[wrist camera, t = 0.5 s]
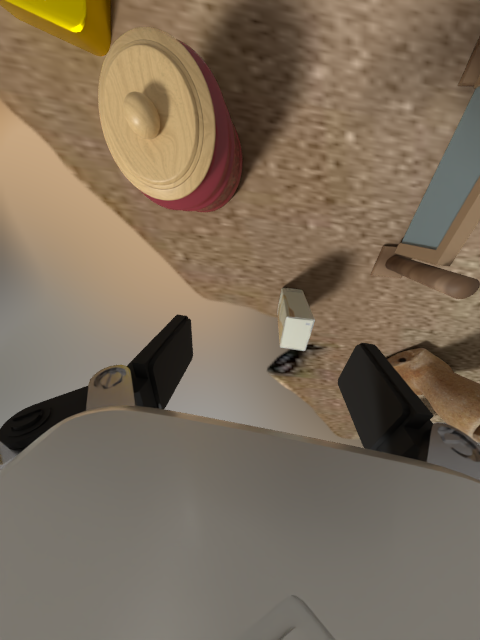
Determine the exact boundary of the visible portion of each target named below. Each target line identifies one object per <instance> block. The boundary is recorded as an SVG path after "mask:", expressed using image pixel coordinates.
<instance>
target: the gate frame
mask: <svg viewBox="0 0 480 640" xmlns="http://www.w3.org/2000/svg"><path fill="white" fill-rule="evenodd" d="M479 75H480V37H479V39H478V42H477V44H476V46H475V48H474V50H473V53H472V55H471V57H470V59H469V62H468V64H467V66H466V68H465V71H464V73H463V75H462V77H461V80H460V82H459V84H458V86H475V83H476V81H477V79H478V77H479ZM396 249H397V247H392V246H383V247H382V249H381V252H380V254H379V256H378V258H377V261H376V263H375V265H374V268H373V270H372V272H371V275H374V276H384V277H394V278H402V276H405V277H407V278H410V279H412V280H414V281H417V282H419V283H421V284H423V285H426V286H428V287H430V288H433V289H435V290H437V291H440V292H442V293H444V294H446V295H449V296H451V297H453V298H456V299H464V298H467V297H469V296H471V295H473V294H474V293H475V292H476V291H477V290H478V288H479V286H480V283H479V281H478V280H477V279H474V278H471V277H467V276H464V275H461V274H457V273H454V272H451V271H447V270H444V269H441V268H437V267H434V266H430V265H427V264H424V263H420V262H417V261H414V260H411V259H412V258H410V257H406V256H403V255H399V254H396V253H395V251H396Z"/></svg>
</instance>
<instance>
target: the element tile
mask: <svg viewBox="0 0 480 640" xmlns="http://www.w3.org/2000/svg"><path fill="white" fill-rule="evenodd" d="M0 5H1V6H2V7H3V8H5V9H6V10H7V11H8V12H10V13H11V14H12V15H14V16H15V17H16V18H18V19H19V20H21V21H23V22H26V23H28V24H30V25H32V26H34V27H36V28H38V29H41V30H43V31H45V32H47V33H49V34H51V35H53V36H56V37H58V38H60V39H62V40H64V41H66V42H68V43H71V44H73V45H75V46H77V47H79V48H81V49H84V50H86V51H88V52H90V53H92V54H94V55H97V56H104V55H106V54H107V52H108V51H109V48H110V44H111V3H110V0H0Z"/></svg>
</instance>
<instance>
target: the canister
mask: <svg viewBox="0 0 480 640" xmlns="http://www.w3.org/2000/svg"><path fill="white" fill-rule="evenodd" d="M98 103H99V114H100V120H101V125H102V129H103V133H104V136H105V139H106V142H107V145H108V147H109V150H110V152H111V154H112V156H113V158H114V160H115V162H116V163H117V165H118V167H119V168H120V170H121V171H122V172H123V174H124V175H125V176H126V177H127V179H128V180H129V181H130V182H131V183H132V184H133V185H134V186H136V187H137V188H138V189H139V190H140V191H141V192H142V193H143V194H144V195H145V196H146V197H147V198H149V199H150V200H151V201H153V202H154V203H156V204H158V205H160V206H162V207H165V208H168V209H172V210H183V211H197V212H211V211H215V210H217V209H219V208H221V207H223V206H224V205H225V204H226V203H227V202H228V201H229V200H230V199H231V198H232V196H233V195H234V193H235V192H236V190H237V187H238V185H239V182H240V178H241V174H242V164H243V159H242V149H241V144H240V140H239V137H238V134H237V131H236V129H235V127H234V125H233V123H232V121H231V117H230V114H229V111H228V108H227V106H226V104H225V102H224V99H223V95H222V93H221V90H220V87H219V85H218V83H217V81H216V79H215V77H214V75H213V73H212V72H211V70H210V68H209V67H208V66H207V64H206V63H205V62H204V60H203V59H202V58H201V57H200V56H199V55H198V54H197V53H196V52H195V51H194V50H193V49H192V48H191V47H189V46H188V45H186V44H185V43H183V42H181V41H179V40H177V39H175V38H174V37H172V36H171V35H169V34H168V33H166V32H164V31H161V30H159V29H156V28H151V27H140V28H135V29H132V30H130V31H128V32H126V33H124V34H123V35H122V36H120V37H119V38H118V39H117V40H116V41H115V43H114V44H113V45H112V47H111V48H110V50H109V52H108V54H107V56H106V58H105V60H104V63H103V66H102V70H101V74H100V80H99V90H98Z"/></svg>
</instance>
